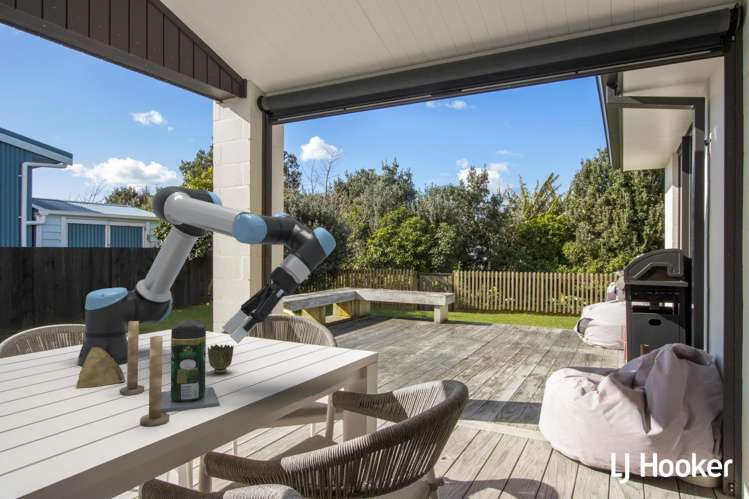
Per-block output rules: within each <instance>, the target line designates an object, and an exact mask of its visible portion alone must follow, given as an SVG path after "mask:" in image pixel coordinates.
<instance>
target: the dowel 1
mask: <svg viewBox="0 0 749 499" xmlns="http://www.w3.org/2000/svg"><path fill="white" fill-rule="evenodd" d="M139 328H140V326H139V321H130V322H128V326H127V335H128V336H127V340H128V362H127V372H126V373H127V374H126V375H127V378H126V380H127V381H126V386H123V387H121V388H120V389H119V395H121V396H135V395H140V394H143V393H144V392H145V385H139V384H138V382H139V381H138V380H139V379H138V378H139V377H138V376H139V339H140V338H139V336H140V334H139V332H140V329H139Z"/></svg>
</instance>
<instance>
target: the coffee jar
mask: <svg viewBox="0 0 749 499" xmlns="http://www.w3.org/2000/svg"><path fill="white" fill-rule="evenodd" d="M206 328H207V326H206V324H205V323H204V322H202V321H200V320H199V319H183V320H181V321H179V322H178V323H176V324H174V325H173V326H172V328H171V330H170V331H171V335H170V336H171V337H170V391H171V399H172V400H173V401H180V402H191V401H193V400H197V399H201V398H202V397H203V396H204V394H205V387H206V365H207V364H206V361H207V360H206V358H207V357H206V355H207V354H206V353H207V352H206V351H207V347H206V346H207V343H206V342H207V341H206V340H207V329H206Z"/></svg>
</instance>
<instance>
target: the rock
mask: <svg viewBox="0 0 749 499" xmlns="http://www.w3.org/2000/svg"><path fill="white" fill-rule="evenodd" d="M125 381H126V376H125V374H124V372H123V370H122V368H121V366H120V364H117V363H116V362H115V361H114V360H113V358H112V357H111V356H110V355H109V354H108V353H107V352H105V351H104V350H102V349H101V348H98V347H92V348H91V350H90V352H89V354H88V356H87V358H86V360H85V362H84V365H83V366H82V367H81V370H80V372H79V374H78V379H77V382H76V386H75V389H81V388H93V387H101V386H102V387H103V386H107V385H113V384H119V383H120V384H121V383H123V382H124V383H125Z"/></svg>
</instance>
